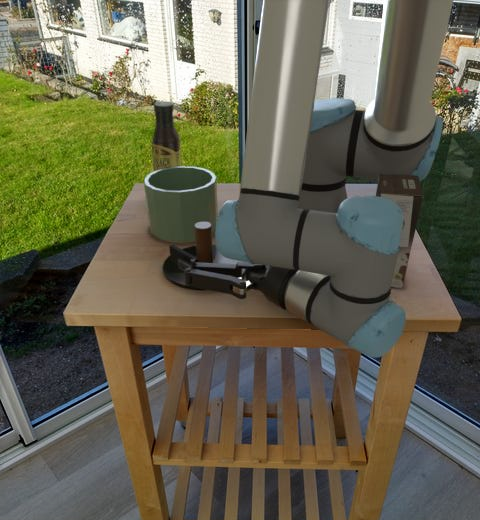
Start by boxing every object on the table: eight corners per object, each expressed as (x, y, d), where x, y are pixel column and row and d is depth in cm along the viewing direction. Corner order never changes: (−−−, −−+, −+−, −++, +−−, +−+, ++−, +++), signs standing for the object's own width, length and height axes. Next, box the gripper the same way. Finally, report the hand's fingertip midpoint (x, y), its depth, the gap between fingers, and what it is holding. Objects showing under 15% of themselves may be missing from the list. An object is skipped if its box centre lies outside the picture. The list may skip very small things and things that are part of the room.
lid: (250, 252, 92) (251, 208, 87) (242, 295, 81) (242, 248, 75) (173, 248, 94) (169, 205, 89) (154, 290, 82) (148, 243, 77)
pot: (221, 215, 106) (220, 167, 99) (212, 245, 95) (209, 193, 88) (159, 213, 107) (154, 165, 100) (142, 242, 96) (135, 190, 90)
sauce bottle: (150, 194, 115) (139, 104, 103) (168, 186, 119) (159, 98, 107) (171, 201, 112) (163, 108, 100) (189, 192, 116) (182, 102, 104)
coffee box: (403, 289, 82) (424, 196, 72) (364, 284, 83) (379, 193, 73) (401, 262, 89) (419, 174, 80) (364, 258, 90) (378, 171, 81)
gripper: (236, 346, 66) (145, 285, 79) (349, 278, 80) (256, 235, 92) (235, 300, 62) (139, 243, 74) (355, 236, 75) (257, 197, 88)
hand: (204, 239), depth 83 cm, fingers open, 13 cm apart
